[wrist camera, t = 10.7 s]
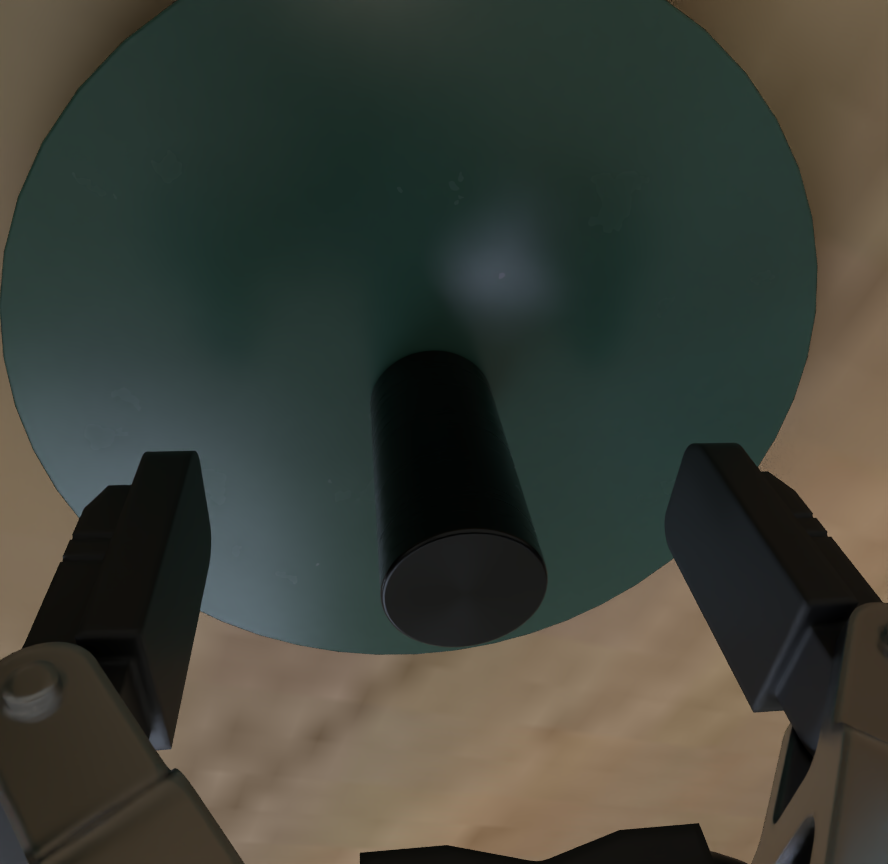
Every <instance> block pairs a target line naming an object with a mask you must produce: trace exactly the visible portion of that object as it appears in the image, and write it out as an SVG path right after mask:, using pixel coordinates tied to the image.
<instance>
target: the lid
mask: <svg viewBox="0 0 888 864" xmlns="http://www.w3.org/2000/svg"><path fill="white" fill-rule="evenodd" d="M816 291H817V257H816V248H815V238H814V229H813V220H812V215H811V211H810V207H809V204H808V200H807V196H806V193H805V189H804V185H803V181H802V178H801V174H800V170H799V167H798V165H797V163H796V160H795V158H794V156H793V154H792V152H791V149H790V147H789V145H788V143H787V141H786V138H785V136H784V134H783V132H782V130H781V127H780V125H779V123H778V121H777V119H776V117H775V116H774V114H773V113H772V111H771V110H770V108H769V107H768V105H767V104H766V102H765V101H764V99H763V98H762V96H761V95H760V93H759V92H758V90H757V89H756V87H755V86H754V84H753V83H752V81H751V80H750V78H749V77H748V75H747V74H746V72H745V71H744V70H743V69H742V68H741V67H740V66H739V65H738V64H737V63H736V62H735V61H734V60H733V59H732V58H731V57H730V56H729V54H728V53H727V52H726V51H725V50H724V49H723V48H722V47H721V46H720V45H719V44H718V43H717V42H716V41H715V40H714V39H713V38H712V36H711V35H710V34H709V33H708V32H707V31H706V30H705V29H704V28H702V27H701V26H700V25H698V24H697V23H696V22H694V21H693V20H692V19H690V18H689V17H688V16H686V15H685V14H684V13H682V12H681V11H680V10H678V9H677V8H676V7H674V6H673V5H672V4H671V3H669V2H668V1H667V0H176V1H175V2H174V3H172V4H171V5H170V6H168V7H167V8H166V9H164V10H163V11H162V12H161V13H159V14H158V15H157V16H155V17H154V18H153V19H151V20H150V21H149V22H147V23H146V24H145V25H143V26H142V27H141V28H139V29H138V30H137V31H135V32H134V33H133V34H131V35H130V36H129V37H128V38H126V39H125V40H124V41H123V42H122V43H121V44H120V45H119V46H118V47H117V48H116V49H115V50H114V51H113V52H112V53H111V54H110V55H109V57H108V58H107V59H106V60H105V61H104V62H103V63H102V64H101V65H100V66H99V67H98V68H97V69H96V70H95V71H94V72H93V73H92V75H91V76H90V77H89V78H88V79H87V80H86V81H85V82H84V83H83V84H82V85H81V86H80V87H79V88H78V90H77V91H76V93H75V94H74V96H73V97H72V98H71V100H70V101H69V103H68V104H67V106H66V107H65V109H64V110H63V112H62V113H61V115H60V116H59V118H58V119H57V121H56V122H55V124H54V125H53V127H52V128H51V130H50V131H49V133H48V134H47V136H46V137H45V139H44V140H43V142H42V144H41V146H40V149H39V151H38V153H37V155H36V158H35V160H34V162H33V164H32V167H31V169H30V171H29V173H28V176H27V178H26V180H25V182H24V184H23V187H22V189H21V191H20V193H19V196H18V199H17V203H16V207H15V211H14V214H13V218H12V222H11V226H10V230H9V234H8V238H7V242H6V246H5V250H4V257H3V269H2V281H1V293H0V319H1V332H2V344H3V356H4V361H5V365H6V370H7V374H8V378H9V382H10V386H11V390H12V394H13V398H14V403H15V406H16V409H17V411H18V414H19V416H20V419H21V421H22V423H23V426H24V428H25V431H26V433H27V436H28V438H29V441H30V443H31V445H32V448H33V450H34V452H35V454H36V455H37V457H38V459H39V460H40V462H41V464H42V466H43V467H44V469H45V471H46V472H47V474H48V476H49V477H50V479H51V481H52V483H53V484H54V486H55V488H56V489H57V491H58V492H59V493H60V494H61V496H62V497H63V498H64V500H65V501H66V502H67V503H68V505H69V506H70V507H71V509H72V510H73V511H74V512H75V514H76V515H77V516H78V517H79V518H80V516H81V514H82V512H83V509H84V508H85V507H86V506H87V505H88V504H89V503H90V502H91V501H92V500H93V499H94V498H95V497H97V496H98V495H99V494H100V493H101V492H102V491H103V490H104V489H105V488H106V487H107V486H108V485H131V484H132V482H133V479H134V476H135V474H136V471H137V468H138V466H139V463H140V460H141V458H142V456H143V454H144V453H145V452H150V451H196V452H197V453H198V456H199V459H200V464H201V471H202V477H203V483H204V489H205V495H206V501H207V507H208V513H209V519H210V526H211V557H210V564H209V569H208V574H207V579H206V584H205V588H204V593H203V598H202V603H201V608H200V611H201V612H203V613H205V614H207V615H209V616H212V617H214V618H216V619H218V620H220V621H222V622H225V623H228V624H230V625H233V626H236V627H239V628H241V629H244V630H247V631H250V632H252V633H255V634H258V635H261V636H265V637H269V638H273V639H277V640H280V641H284V642H288V643H292V644H296V645H300V646H307V647H313V648H319V649H325V650H331V651H337V652H349V653H363V654H376V655H383V654H423V653H433V652H444V651H454V650H460V649H466V648H471V647H477V646H482V645H488V644H493V643H497V642H501V641H504V640H508V639H512V638H516V637H519V636H523V635H527V634H530V633H533V632H536V631H539V630H542V629H544V628H547V627H550V626H553V625H555V624H558V623H561V622H564V621H566V620H569V619H571V618H573V617H575V616H577V615H580V614H582V613H584V612H586V611H588V610H590V609H593V608H595V607H597V606H599V605H601V604H603V603H605V602H607V601H609V600H610V599H612V598H614V597H615V596H617V595H619V594H621V593H622V592H624V591H626V590H628V589H629V588H631V587H633V586H635V585H636V584H638V583H639V582H641V581H642V580H644V579H645V578H647V577H648V576H649V575H651V574H652V573H654V572H655V571H657V570H658V569H659V568H661V567H662V566H664V565H665V564H667V563H668V562H669V561H671V560H672V559H673V558H674V557H673V555H672V554H671V552H670V550H669V547H668V544H667V541H666V536H665V526H664V522H665V514H666V510H667V506H668V503H669V500H670V497H671V494H672V490H673V487H674V484H675V481H676V477H677V474H678V471H679V468H680V464H681V461H682V458H683V455H684V452H685V450H686V448H687V447H688V446H689V445H690V444H693V443H738V444H739V445H741V446H742V447H743V448H744V450H745V451H746V452H747V454H748V455H749V456H750V458H751V459H752V460H753V462H754V463H755V464H756V466H757V467H758V466H759V464H760V463H761V461H762V459H763V458H764V456H765V455H766V453H767V451H768V450H769V448H770V446H771V445H772V443H773V442H774V440H775V438H776V436H777V434H778V432H779V430H780V428H781V426H782V424H783V421H784V419H785V417H786V415H787V413H788V411H789V409H790V406H791V404H792V402H793V400H794V397H795V394H796V391H797V388H798V385H799V382H800V379H801V376H802V373H803V370H804V367H805V363H806V360H807V357H808V352H809V346H810V341H811V335H812V330H813V324H814V319H815V313H816Z"/></svg>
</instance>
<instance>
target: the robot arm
mask: <svg viewBox="0 0 888 864" xmlns="http://www.w3.org/2000/svg"><path fill="white" fill-rule="evenodd" d="M664 526H665V536H666V541H667V544H668V547H669V550H670V552H671V554H672V555H673V557H674V559H675V561H676V563H677V565H678V567H679V569H680V571H681V573H682V575H683V577H684V579H685V581H686V583H687V585H688V586H689V588H690V590H691V592H692V594H693V596H694V598H695V600H696V602H697V604H698V606H699V608H700V610H701V612H702V614H703V616H704V618H705V619H706V621H707V623H708V625H709V627H710V629H711V631H712V633H713V635H714V637H715V639H716V641H717V643H718V645H719V647H720V649H721V650H722V652H723V654H724V656H725V658H726V660H727V662H728V664H729V666H730V668H731V670H732V672H733V674H734V676H735V678H736V680H737V681H738V683H739V685H740V687H741V689H742V691H743V693H744V695H745V697H746V699H747V701H748V703H749V705H750V707H751V709H752V711H753V712H768V711H783V710H784V712H785V713H786V715H787V717H788V719H789V721H790V724H789V726H788V728H787V730H786V731H785V734H784V737H783V741H782V745H781V750H780V754H779V759H778V763H777V768H776V772H775V777H774V781H773V786H772V790H771V795H770V799H769V804H768V808H767V813H766V817H765V822H764V826H763V831H762V835H761V838H760V842H759V845H758V848H757V851H756V853H755V856H754V858H753V861H752V863H751V864H888V603H883V602H882V601H881V599H880V598H879V597H878V596H877V594H876V593H875V592H874V590H873V589H872V588H871V587H870V585H869V584H868V583H867V582H866V580H865V579H864V578H863V577H862V575H861V574H860V573H859V571H858V570H857V569H856V568H855V566H854V565H853V564H852V563H851V561H850V560H849V559H848V557H847V556H846V555H845V554H844V552H843V551H842V550H841V549H840V547H839V546H838V545H837V544H836V542H835V541H834V540H833V538H832V537H828V536H827V531H826V530H825V528H824V527H823V526H822V524H821V523H820V522H819V521H818V519H817V518H813V513H812V512H811V511H810V509H809V508H808V507H807V505H806V504H805V503H804V502H803V500H802V499H801V498H800V497H799V495H798V494H797V493H796V491H794V490H793V489H792V488H790V487H789V486H787V485H786V484H785V483H783V482H782V481H781V480H779V479H778V478H776V477H775V476H774V475H772V474H771V473H769V472H761V471H760V470H759V468H758V467H757V466H756V464H755V463H754V462H753V460H752V459H751V458H750V456H749V455H748V454H747V452H746V451H745V450H744V448H743V447H742V446H741V445H739V444H738V443H693V444H690V445H689V446H688V447H687V448H686V450H685V452H684V455H683V458H682V461H681V464H680V468H679V471H678V474H677V477H676V481H675V484H674V487H673V490H672V494H671V497H670V500H669V503H668V506H667V510H666V514H665V522H664ZM72 535H73V539H72V540H70V541H69V543H68V546H67V548H66V550H65V553H64V555H63V562H60V564H59V566H58V568H57V571H56V573H55V575H54V578H53V580H52V582H51V584H50V587H49V589H48V591H47V593H46V596H45V598H44V600H43V603H42V605H41V607H40V609H39V612H38V614H37V616H36V618H35V621H34V623H33V625H32V628H31V630H30V632H29V634H28V637H27V639H26V641H25V644H24V645H23V647H22V649H21V650H18V651H16V652H14V653H12V654H10V655H8V656H7V657H5V658H3V659H1V660H0V864H244V862H243V861H242V859H241V858H240V856H239V855H238V853H237V852H236V850H235V849H234V847H233V846H232V844H231V843H230V841H229V840H228V838H227V837H226V835H225V834H224V832H223V831H222V829H221V828H220V826H219V825H218V823H217V822H216V820H215V819H214V817H213V816H212V815H211V813H210V812H209V810H208V809H207V807H206V806H205V804H204V803H203V801H202V800H201V798H200V797H199V795H198V794H197V792H196V791H195V789H194V788H193V786H192V785H191V784H190V782H189V781H188V780H187V778H186V777H185V776H184V775H183V774H182V773H181V772H180V771H179V770H178V769H176V768H175V769H173V770H172V771H171V770H170V769H169V768H168V767H167V766H166V764H165V763H164V762H163V760H162V759H161V757H160V756H159V754H158V753H157V751H156V750H167V749H171V748H172V743H173V738H174V733H175V728H176V723H177V719H178V714H179V709H180V704H181V699H182V695H183V690H184V685H185V680H186V675H187V670H188V666H189V661H190V656H191V651H192V646H193V642H194V637H195V632H196V627H197V622H198V617H199V613H200V608H201V603H202V598H203V593H204V588H205V584H206V579H207V574H208V569H209V564H210V557H211V526H210V519H209V513H208V507H207V501H206V495H205V489H204V483H203V477H202V471H201V464H200V459H199V456H198V453H197V452H196V451H150V452H145V453H144V454H143V456H142V458H141V460H140V463H139V466H138V468H137V471H136V474H135V476H134V479H133V482H132V484H131V485H108V486H107V487H106V488H105V489H104V490H103V491H102V492H101V493H100V494H99V495H98V496H97V497H95V498H94V499H93V500H92V501H91V502H90V503H89V504H88V505H87V506H86V507H85V508H84V509H83V512H82V514H81V516H80V518H79V521H78V523H77V525H76V528H75V530H74V532H73V534H72ZM360 864H747V863H745V862H743V861H740V860H738V859H735V858H732V857H729V856H726V855H722V854H719V853H716V852H712V851H710V850H709V848H708V845H707V843H706V840H705V837H704V835H703V832H702V830H701V827H700V825H699V823H696V824H685V825H673V826H662V827H650V828H639V829H628V830H619V831H616V832H614V833H611V834H609V835H606V836H604V837H601V838H599V839H596V840H594V841H592V842H589V843H587V844H584V845H582V846H579V847H577V848H574V849H572V850H569V851H567V852H564V853H562V854H559V855H557V856H554V857H552V858H550V859H547V860H543V861H529V860H524V859H518V858H513V857H507V856H502V855H497V854H491V853H486V852H481V851H475V850H470V849H465V848H459V847H454V846H448V845H444V846H432V847H421V848H409V849H398V850H386V851H375V852H364V853H360Z"/></svg>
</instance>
